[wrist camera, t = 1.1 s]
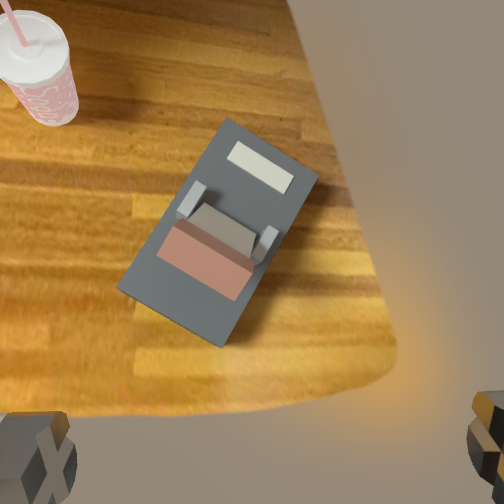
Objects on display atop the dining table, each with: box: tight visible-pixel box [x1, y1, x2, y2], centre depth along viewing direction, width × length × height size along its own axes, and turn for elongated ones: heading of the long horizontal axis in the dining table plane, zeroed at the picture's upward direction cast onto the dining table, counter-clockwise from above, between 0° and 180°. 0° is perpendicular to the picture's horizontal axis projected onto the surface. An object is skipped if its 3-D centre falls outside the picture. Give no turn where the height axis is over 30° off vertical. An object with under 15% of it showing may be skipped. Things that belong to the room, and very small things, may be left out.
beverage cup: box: [0, 0, 79, 126], centre depth 35 cm, size 6×6×14 cm
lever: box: [156, 202, 257, 301], centre depth 32 cm, size 6×2×12 cm
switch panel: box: [117, 117, 319, 348], centre depth 39 cm, size 10×18×8 cm, turn 151°
